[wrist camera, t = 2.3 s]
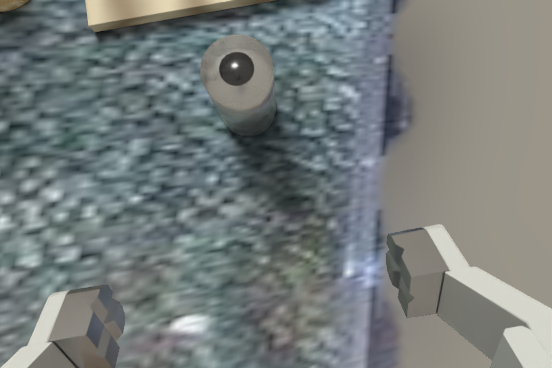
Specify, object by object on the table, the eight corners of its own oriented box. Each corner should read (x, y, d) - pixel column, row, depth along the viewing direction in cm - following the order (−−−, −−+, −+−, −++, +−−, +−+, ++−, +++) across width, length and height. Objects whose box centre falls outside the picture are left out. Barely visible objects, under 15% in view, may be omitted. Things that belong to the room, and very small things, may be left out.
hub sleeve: (225, 140, 35) (206, 109, 26) (217, 88, 36) (195, 40, 27) (280, 131, 36) (278, 97, 26) (270, 79, 36) (266, 28, 27)
